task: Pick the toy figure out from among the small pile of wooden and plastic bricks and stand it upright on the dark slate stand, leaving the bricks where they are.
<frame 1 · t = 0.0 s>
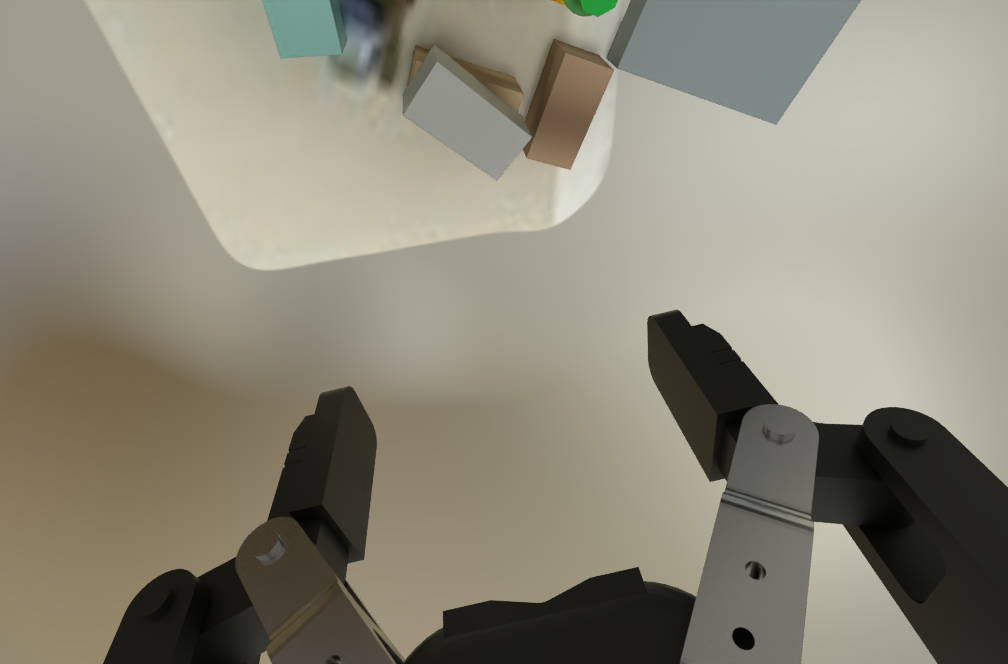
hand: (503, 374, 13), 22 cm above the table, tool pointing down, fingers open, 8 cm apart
oak brick: (459, 87, 29), on the table, touching grey brick
walnut brick: (556, 98, 30), on the table
grey brick: (464, 105, 27), point 3 cm above the table, touching oak brick
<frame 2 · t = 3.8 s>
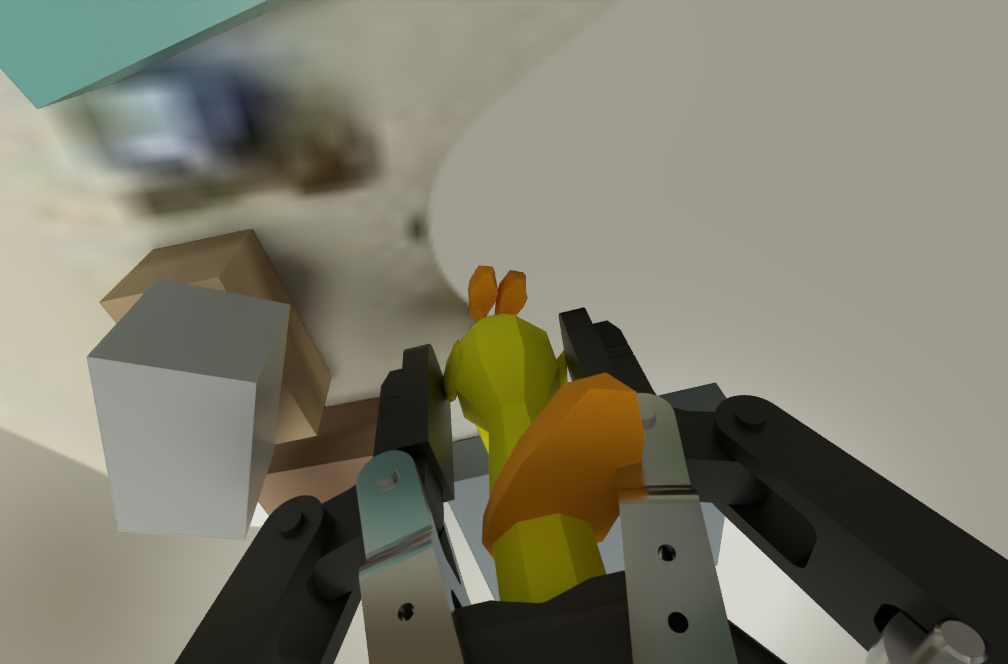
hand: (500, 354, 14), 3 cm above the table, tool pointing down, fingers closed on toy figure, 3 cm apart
oak brick: (253, 317, 16), on the table, touching grey brick
toy figure: (496, 285, 16), on the table, touching gripper
slate stand: (589, 494, 24), on the table
walnut brick: (354, 426, 20), on the table
grey brick: (224, 378, 14), point 3 cm above the table, touching oak brick
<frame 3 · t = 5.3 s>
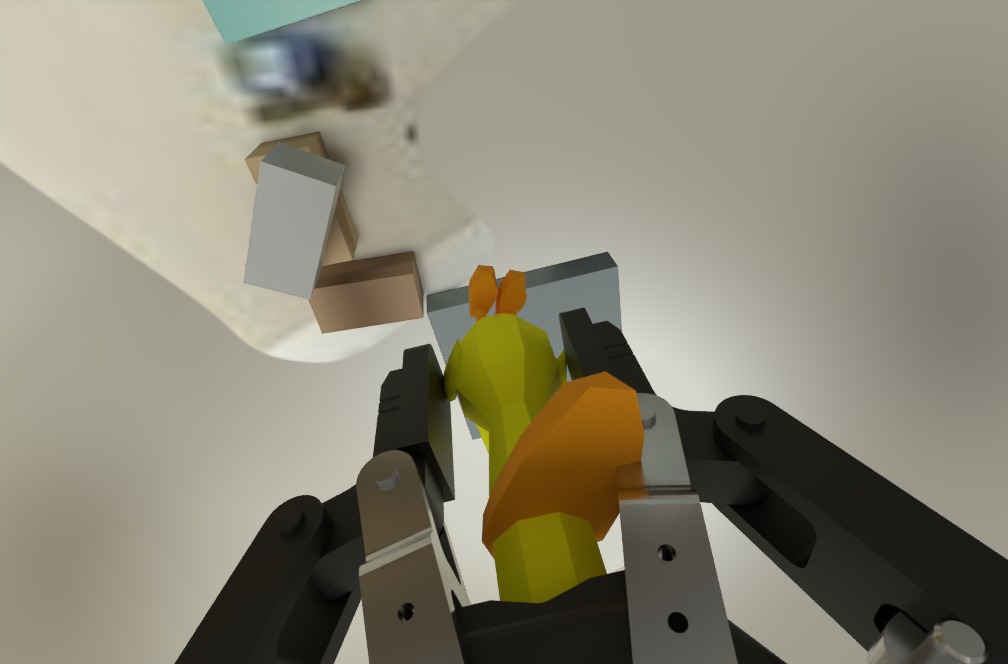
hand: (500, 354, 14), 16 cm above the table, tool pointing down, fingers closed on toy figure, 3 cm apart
oak brick: (313, 192, 26), on the table, touching grey brick
toy figure: (496, 285, 16), point 13 cm above the table, touching gripper
slate stand: (531, 344, 34), on the table
walnut brick: (370, 278, 30), on the table
grey brick: (301, 211, 24), point 3 cm above the table, touching oak brick
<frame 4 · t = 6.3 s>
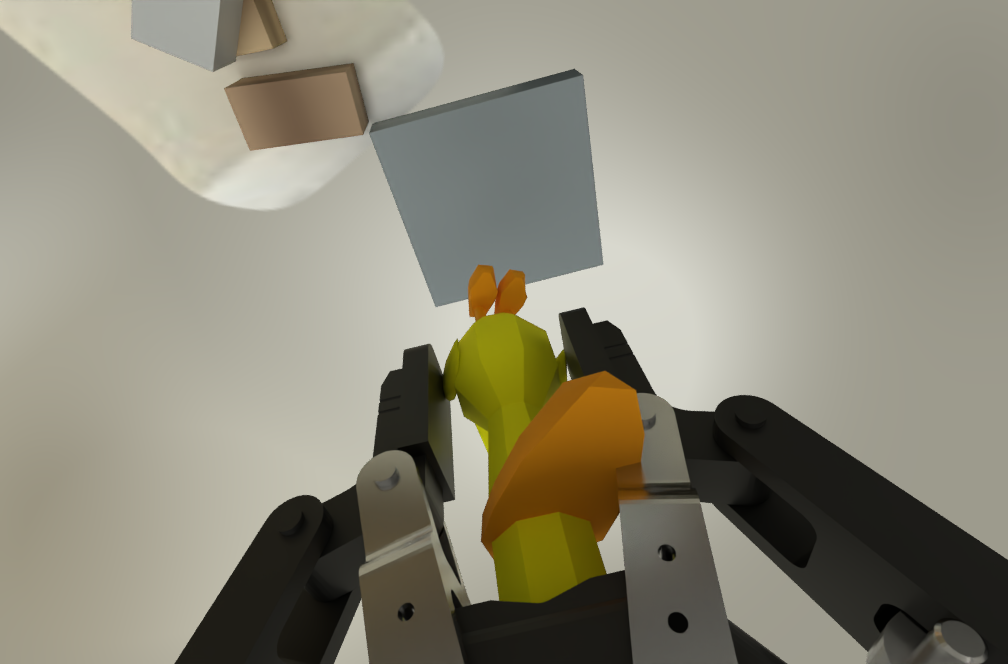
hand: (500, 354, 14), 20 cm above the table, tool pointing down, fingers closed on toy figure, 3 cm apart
toy figure: (496, 284, 16), point 16 cm above the table, touching gripper
slate stand: (496, 194, 31), on the table
walnut brick: (308, 100, 27), on the table
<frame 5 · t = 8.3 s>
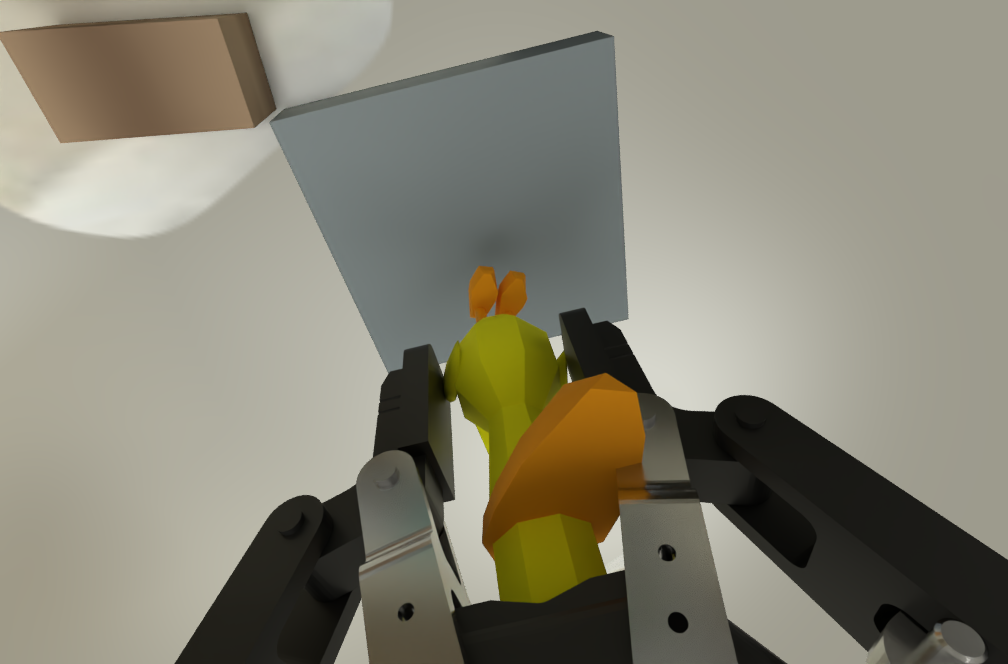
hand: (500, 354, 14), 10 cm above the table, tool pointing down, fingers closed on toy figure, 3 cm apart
toy figure: (496, 286, 16), point 6 cm above the table, touching gripper
slate stand: (476, 218, 21), on the table
walnut brick: (176, 68, 17), on the table
when the fingers open (7 cm above the table, at t = 9.7 s): toy figure drops 1 cm, resting on slate stand.
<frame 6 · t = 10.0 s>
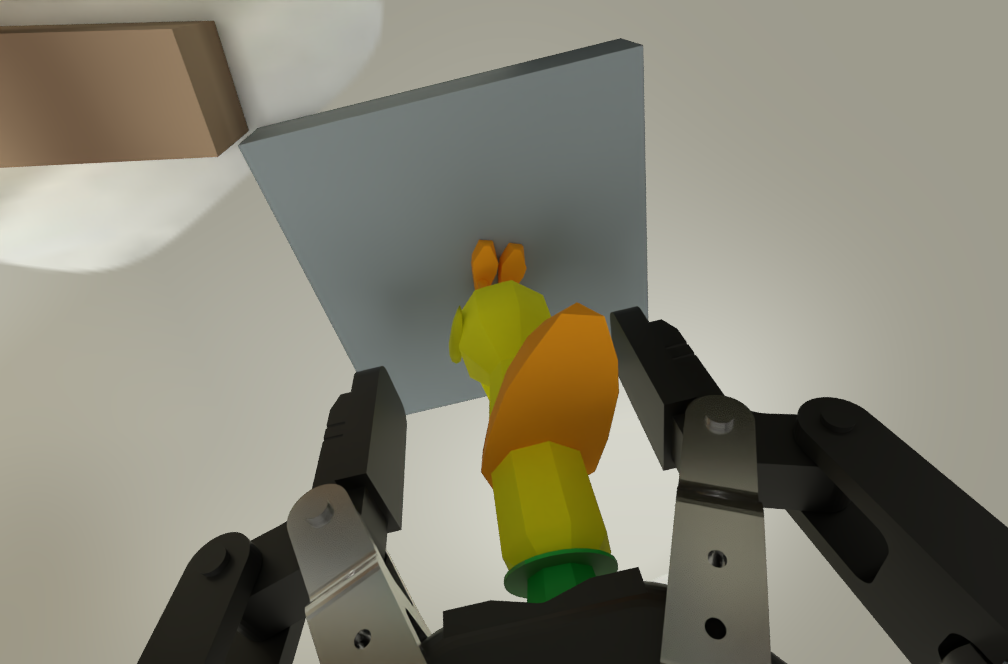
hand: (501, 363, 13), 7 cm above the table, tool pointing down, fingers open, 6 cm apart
toy figure: (497, 259, 17), point 2 cm above the table, touching slate stand
slate stand: (480, 248, 19), on the table
walnut brick: (131, 81, 15), on the table
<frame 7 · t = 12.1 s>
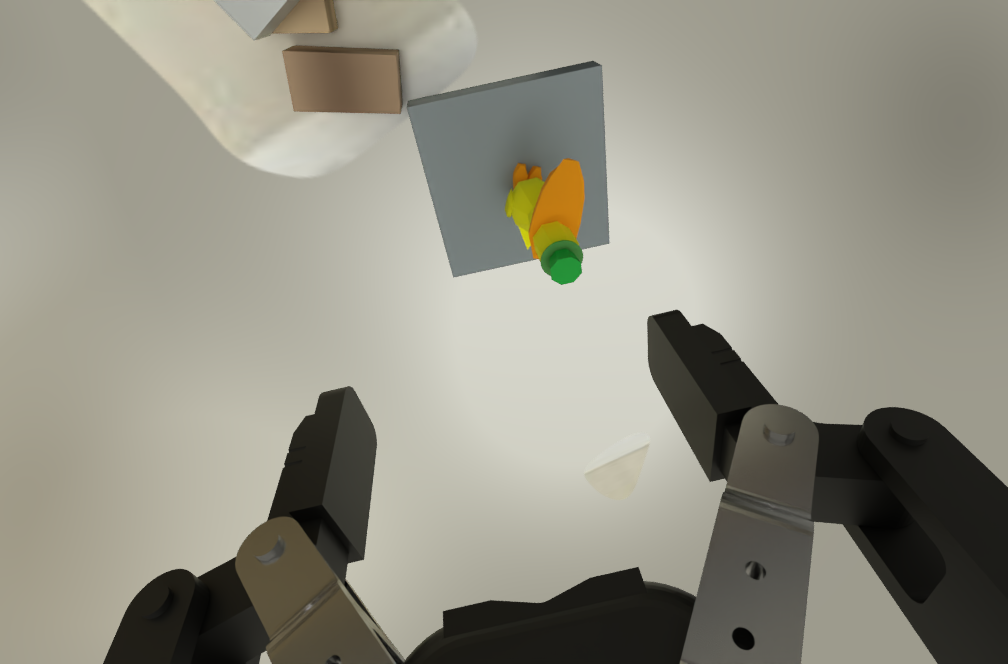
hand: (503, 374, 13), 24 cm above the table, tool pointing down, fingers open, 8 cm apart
toy figure: (526, 175, 32), point 2 cm above the table, touching slate stand
slate stand: (515, 173, 34), on the table
walnut brick: (350, 75, 29), on the table
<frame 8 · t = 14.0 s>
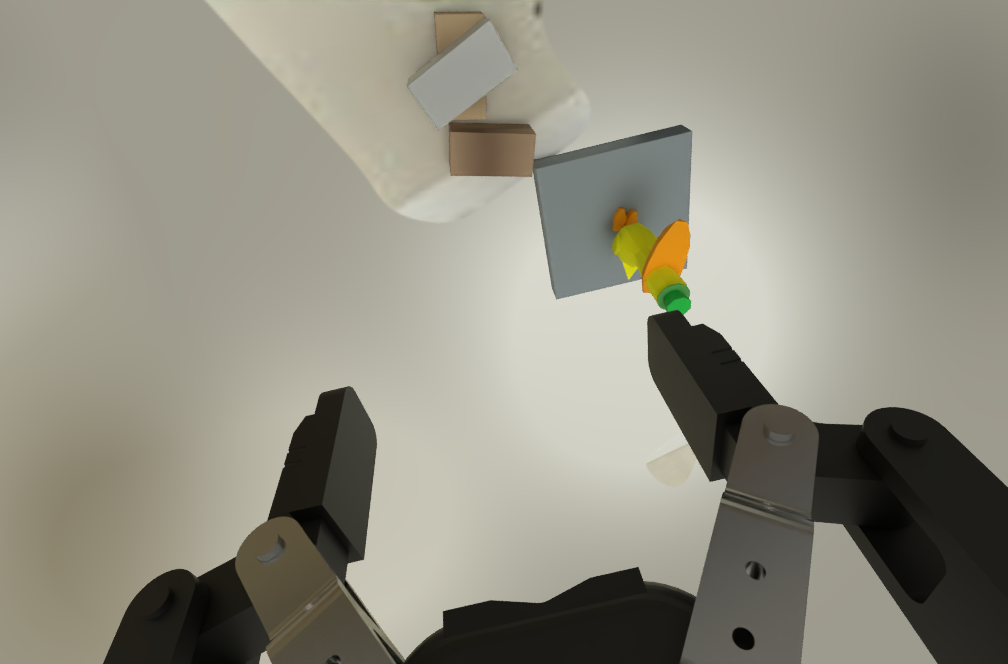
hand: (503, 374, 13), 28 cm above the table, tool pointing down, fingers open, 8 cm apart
oak brick: (459, 63, 33), on the table, touching grey brick
toy figure: (623, 216, 39), point 2 cm above the table, touching slate stand
slate stand: (610, 213, 41), on the table
walnut brick: (488, 143, 37), on the table
grey brick: (460, 70, 31), point 3 cm above the table, touching oak brick
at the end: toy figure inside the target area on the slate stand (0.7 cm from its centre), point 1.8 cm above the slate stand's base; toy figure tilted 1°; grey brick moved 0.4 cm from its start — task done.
